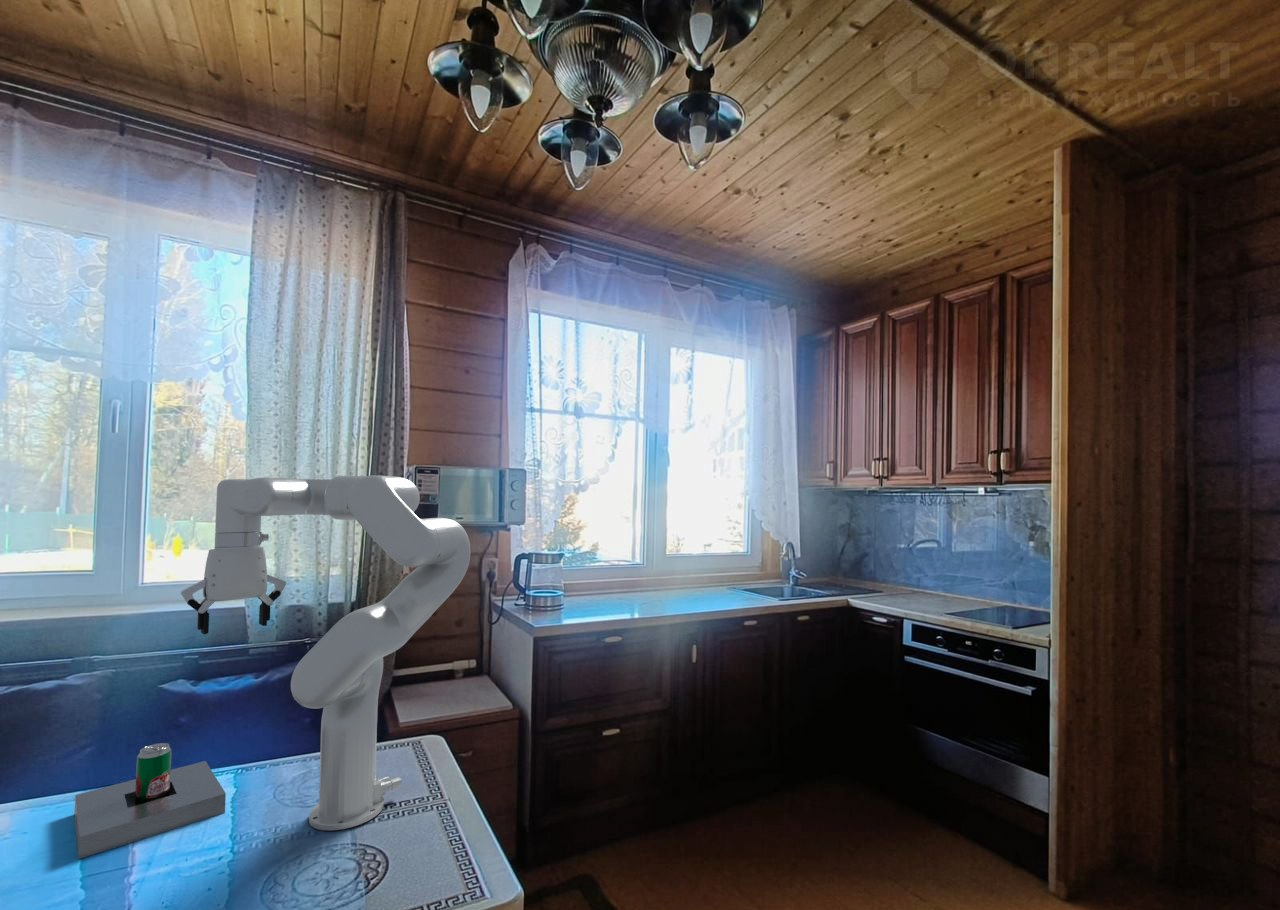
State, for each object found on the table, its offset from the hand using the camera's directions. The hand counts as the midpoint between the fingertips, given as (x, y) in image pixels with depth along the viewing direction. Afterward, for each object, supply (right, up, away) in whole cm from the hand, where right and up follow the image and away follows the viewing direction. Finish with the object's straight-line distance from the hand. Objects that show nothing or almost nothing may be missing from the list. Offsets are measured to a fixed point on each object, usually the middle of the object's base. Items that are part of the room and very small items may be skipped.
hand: (234, 628), depth 116 cm
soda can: (-12, -33, -5) cm, 36 cm away
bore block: (-12, -33, -5) cm, 36 cm away
